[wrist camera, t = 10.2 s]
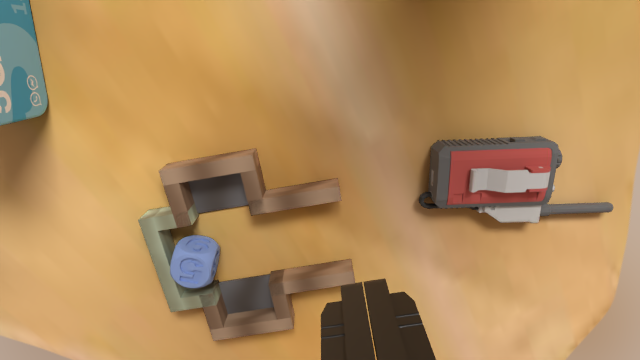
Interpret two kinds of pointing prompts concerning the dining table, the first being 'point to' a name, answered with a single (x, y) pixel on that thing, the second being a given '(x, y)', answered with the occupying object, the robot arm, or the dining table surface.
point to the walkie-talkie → (499, 178)
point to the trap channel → (249, 189)
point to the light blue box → (19, 65)
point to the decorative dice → (195, 261)
